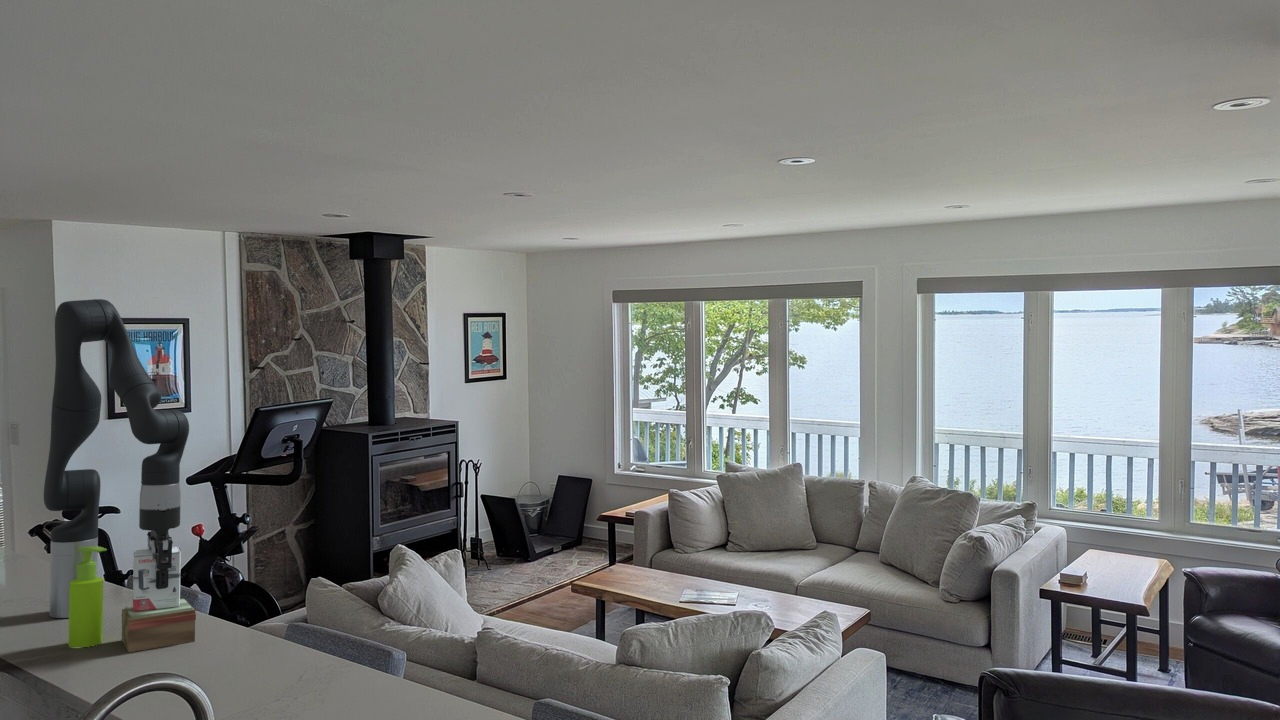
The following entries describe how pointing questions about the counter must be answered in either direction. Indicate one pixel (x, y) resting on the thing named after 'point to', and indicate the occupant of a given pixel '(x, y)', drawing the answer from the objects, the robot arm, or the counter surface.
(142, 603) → the ink box
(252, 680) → the counter surface
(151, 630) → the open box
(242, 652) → the counter surface
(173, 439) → the robot arm
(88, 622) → the soap dispenser
